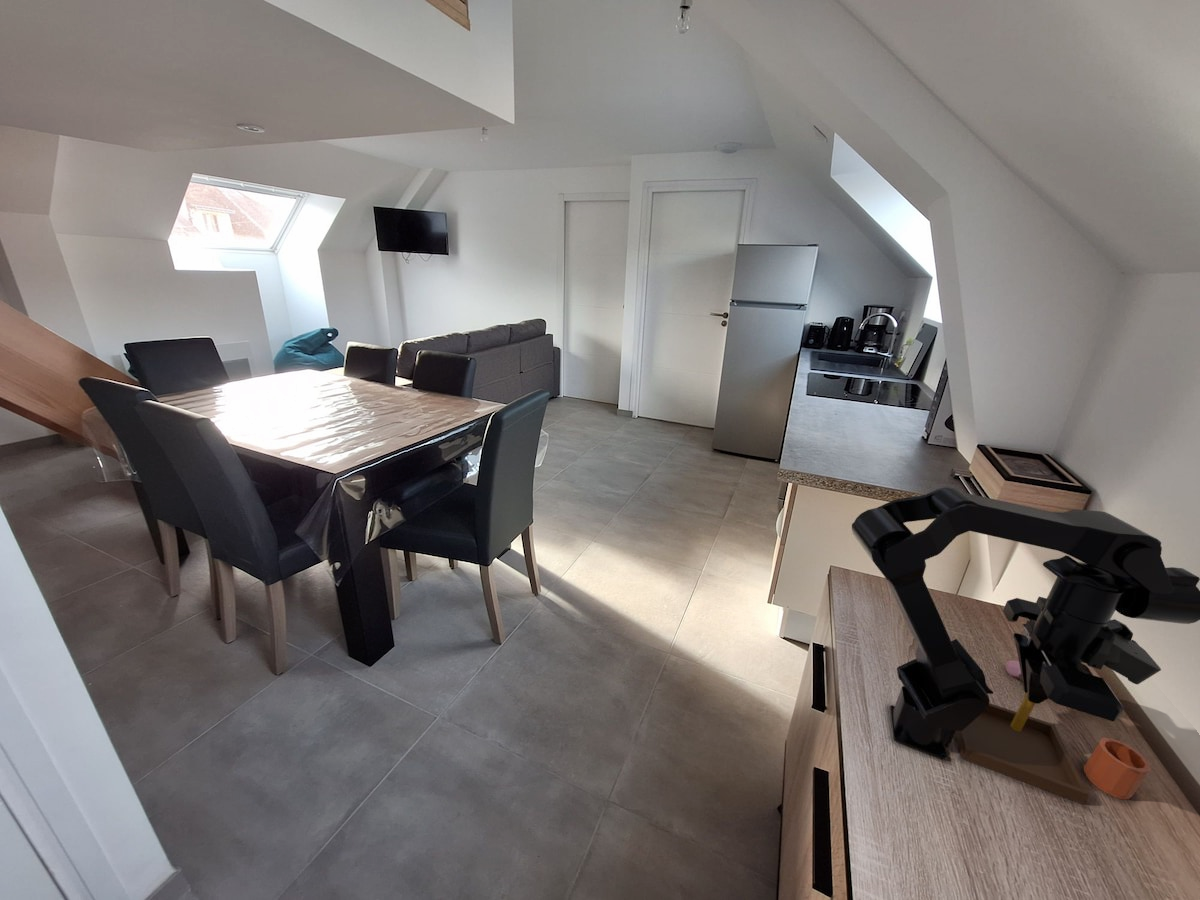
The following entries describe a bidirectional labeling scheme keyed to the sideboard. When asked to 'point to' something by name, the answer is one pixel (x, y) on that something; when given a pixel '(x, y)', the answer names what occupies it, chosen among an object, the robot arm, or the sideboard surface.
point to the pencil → (1022, 714)
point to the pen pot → (1116, 768)
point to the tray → (1022, 752)
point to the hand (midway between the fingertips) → (1031, 697)
